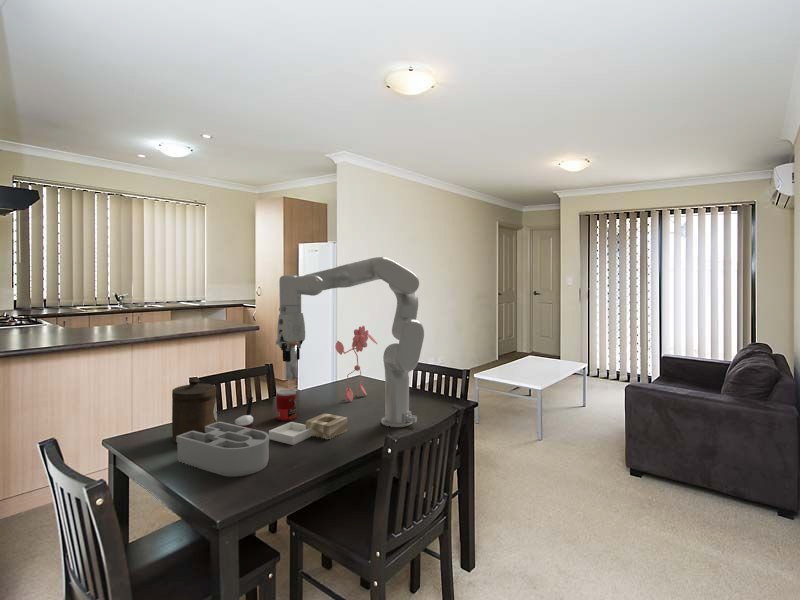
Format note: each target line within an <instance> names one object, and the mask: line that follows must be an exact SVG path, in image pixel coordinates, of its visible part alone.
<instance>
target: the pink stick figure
mask: <svg viewBox="0 0 800 600" xmlns="http://www.w3.org/2000/svg"><path fill="white" fill-rule="evenodd" d="M353 334H354V337H352V344H351V347H352V348H350V349H348V350H347V351H345V347H344V345H343V343H342V342H340V341H339V340H337V341H336V343H335V347H334V348H335V351H336V352H337V353H338V354H339V355H343V354H344V355H345V354H347V353H349V352H351V351H354V354H355V356H356V362H357V363H356V365H354V367H353V368H354V370H352V371H351V372H349V373H348V374H347V378H349V375H351V374H352V373H354V372H355V371H356V372H358V371H359V376H360V380H362V372H361V367H360V365H359V356H358V353H359V352H363V350H364V349H363V348H367V347H368V340H369V339H370V340H371V341H372V342H373V344H376V345H378V342H377V341H376V339H374V337H373V336H372V335H370V334H369V330H366V327H365V325H362V326H360V325H359V326H358V328H356V329H353ZM347 386H348V387H346V389H345V396H344V397H343V400H344V399H345V400H346V398H347V399H348V400H349V402H350V403H352V401H353V399H354V392H353V390H352V389H351V388H350V383H349V379H347ZM360 390H361V391H362V392H363V394H364V395H365V396H366V395H367V396H368V394H367V392H366V389H365V388H364V386H363V385H362V383H359V387H358V389H357V391H356V394H355V396H358V395H359V391H360Z"/></svg>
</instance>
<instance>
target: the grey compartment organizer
mask: <svg viewBox="0 0 800 600" xmlns="http://www.w3.org/2000/svg"><path fill="white" fill-rule="evenodd" d="M205 432H206V433H201V432H197V431H190V432H187V433H184V434H181V435H178V436H176V442H177V444H176V448H177V462H178V463H180V462H182V463H181V464H183V463H185V464H184V465H187V464H188V465H187V466H190V465H191V467H193V466H194V468H196V467H197V468H196V469H200V470H203V471H206V472H210V473H213V474H216V475H220V476H224V477H243V476H248V475H252V474H254V473H257V472H260V471H262V470H263V469H265V468H266V467H267V465H268V462H269V458H270V454H269V453H270V452H269V450H270V449H269V448H270V447H269V444H270V439H269V433H268V432H266V431H263V430H261V429H259V430H258V429H254V428H252V429H251V428H246V427H242V426H237V425H235V424H233V423H228V422H224V421H217V422H216V423H213V424H210V425H207V426H205Z"/></svg>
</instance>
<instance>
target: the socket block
mask: <svg viewBox="0 0 800 600" xmlns="http://www.w3.org/2000/svg"><path fill="white" fill-rule="evenodd" d="M305 425H306V430H307V429H309V428H313V436H312V437H315V436H316V438H319V437H321V438H320V439H324V438H325V440H328V439H330V440H332V439H334V438H336V437H338V436H339V435H342V434H344V433H346V432H347V431H348V425H349V423H348V417H347V416H346V417H345V416H342V415H341V416H340V415H336V414H330V413H326V412H325V413H322V414H320V415H317V416H315V417H313V418H310V419H307V420H305ZM337 435H338V436H337ZM335 436H336V437H335ZM333 437H334V438H333ZM331 438H332V439H331Z"/></svg>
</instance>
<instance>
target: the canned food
mask: <svg viewBox="0 0 800 600" xmlns="http://www.w3.org/2000/svg"><path fill="white" fill-rule="evenodd" d="M276 418H277V420H278V421H280V420H281V421H282V422H289V420H290V421H294V420H295V419H296V418H297V392H296V390H294V389H282V390H277V391H276ZM293 419H294V420H293Z"/></svg>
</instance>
